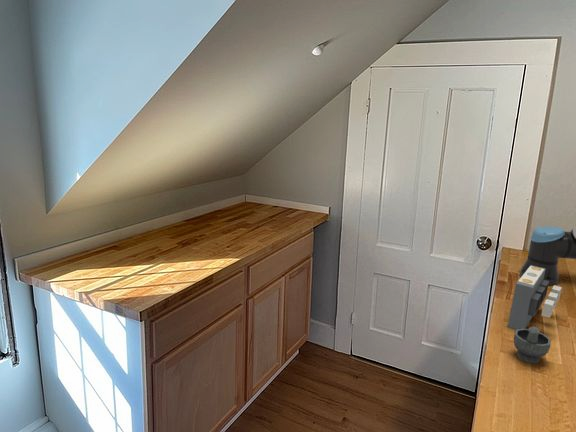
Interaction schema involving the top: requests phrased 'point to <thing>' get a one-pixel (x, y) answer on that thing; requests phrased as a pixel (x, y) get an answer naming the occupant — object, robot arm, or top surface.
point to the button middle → (553, 298)
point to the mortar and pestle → (531, 344)
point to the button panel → (528, 297)
